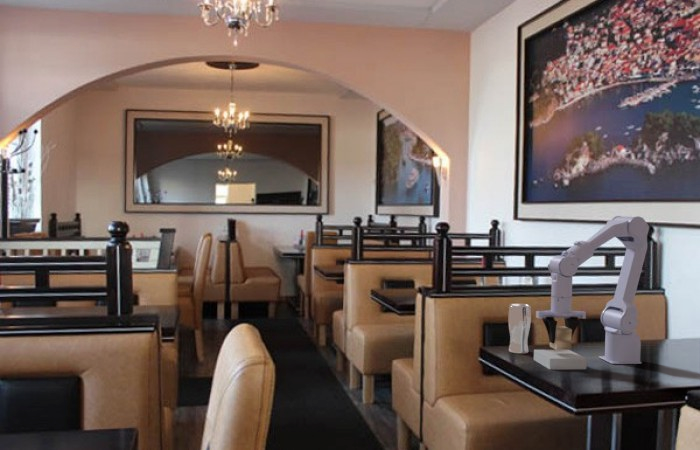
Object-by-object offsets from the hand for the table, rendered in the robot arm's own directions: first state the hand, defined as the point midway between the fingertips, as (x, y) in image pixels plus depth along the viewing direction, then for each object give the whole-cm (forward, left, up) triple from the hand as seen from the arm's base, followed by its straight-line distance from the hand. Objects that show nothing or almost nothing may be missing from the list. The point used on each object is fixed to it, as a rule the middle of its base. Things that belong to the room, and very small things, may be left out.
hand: (560, 342), depth 179 cm
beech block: (0, 0, -2) cm, 2 cm away
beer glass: (+6, -16, -7) cm, 18 cm away
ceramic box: (0, 0, -7) cm, 7 cm away
